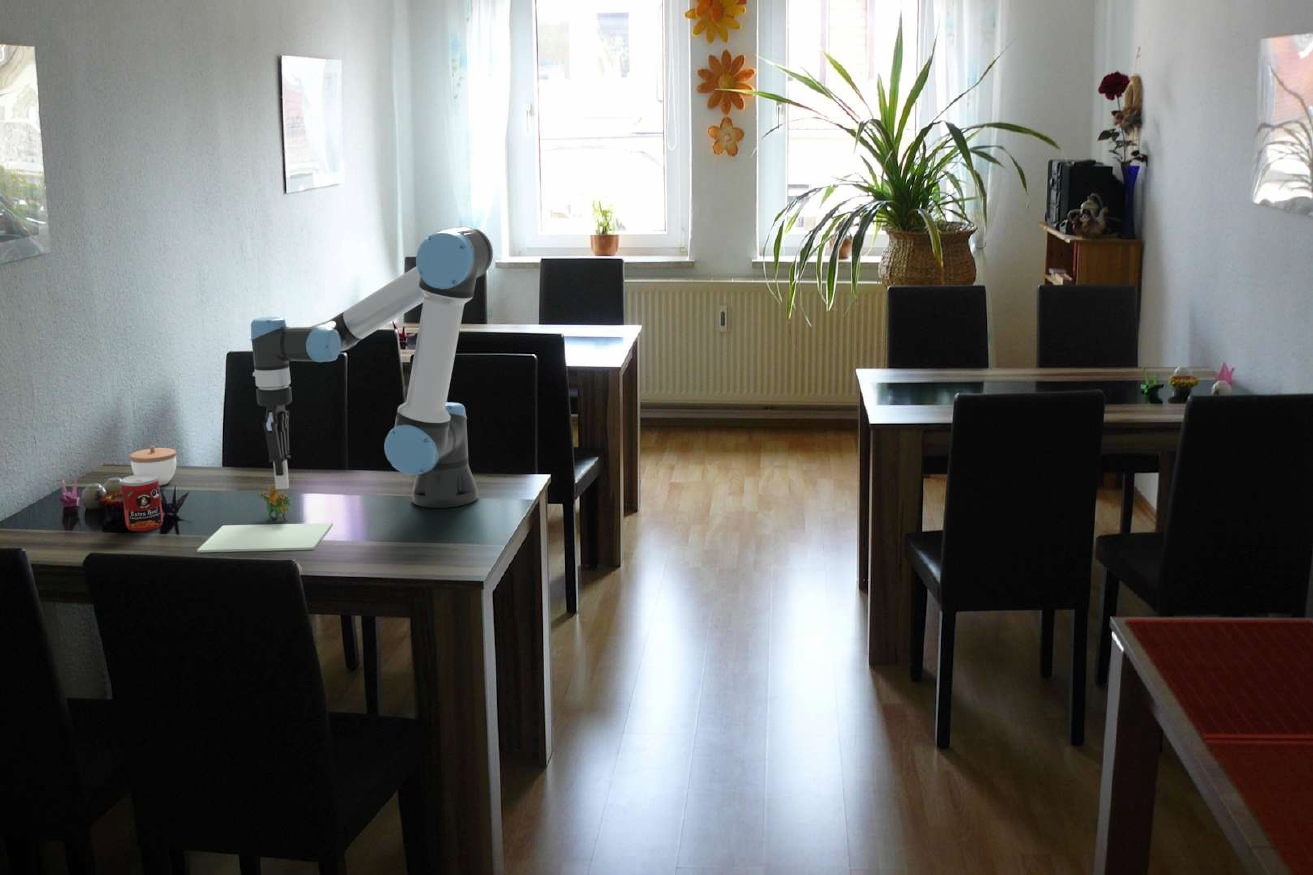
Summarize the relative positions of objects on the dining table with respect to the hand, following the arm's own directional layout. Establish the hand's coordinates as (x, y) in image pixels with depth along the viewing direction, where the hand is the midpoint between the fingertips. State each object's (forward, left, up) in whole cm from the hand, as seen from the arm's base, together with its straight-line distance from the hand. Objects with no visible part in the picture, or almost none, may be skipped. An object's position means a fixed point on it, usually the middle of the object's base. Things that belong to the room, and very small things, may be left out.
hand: (282, 487), depth 293 cm
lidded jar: (+39, -27, -6) cm, 48 cm away
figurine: (0, +7, -6) cm, 9 cm away
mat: (-2, +21, -5) cm, 22 cm away
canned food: (+28, +10, -6) cm, 30 cm away
